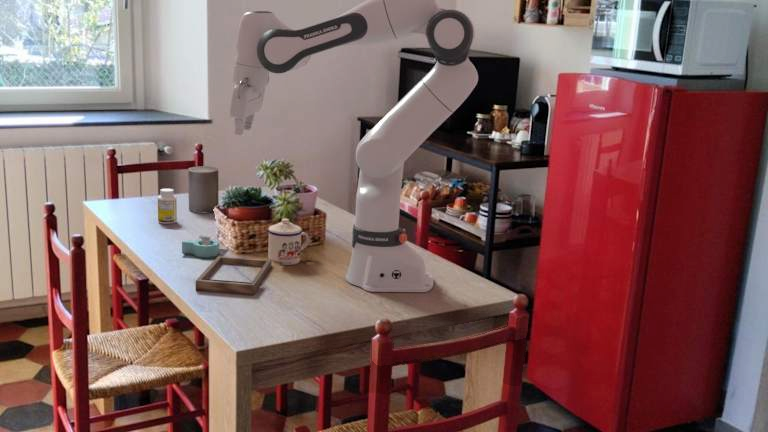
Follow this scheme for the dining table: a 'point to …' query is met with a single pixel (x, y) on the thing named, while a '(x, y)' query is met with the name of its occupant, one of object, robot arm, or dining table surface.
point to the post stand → (206, 242)
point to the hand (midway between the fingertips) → (243, 131)
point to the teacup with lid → (286, 242)
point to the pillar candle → (203, 188)
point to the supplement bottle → (167, 207)
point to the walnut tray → (232, 286)
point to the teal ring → (200, 248)
